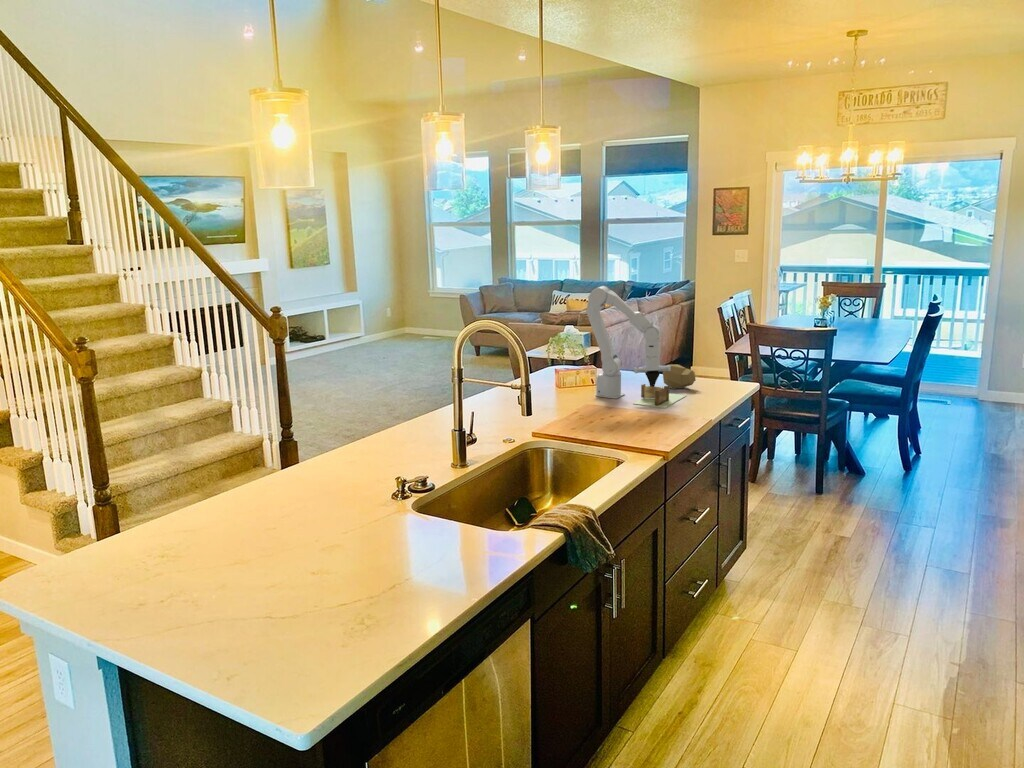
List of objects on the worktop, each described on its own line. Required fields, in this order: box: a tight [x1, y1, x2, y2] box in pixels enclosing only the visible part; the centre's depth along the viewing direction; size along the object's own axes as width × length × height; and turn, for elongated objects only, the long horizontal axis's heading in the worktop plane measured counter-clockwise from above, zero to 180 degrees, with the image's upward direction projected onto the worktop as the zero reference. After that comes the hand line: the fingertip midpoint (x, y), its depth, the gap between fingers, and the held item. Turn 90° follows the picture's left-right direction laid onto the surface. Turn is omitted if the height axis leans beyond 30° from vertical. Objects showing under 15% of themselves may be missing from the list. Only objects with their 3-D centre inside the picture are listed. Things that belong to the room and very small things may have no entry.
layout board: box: [633, 392, 687, 409], centre depth 300 cm, size 13×22×1 cm, turn 147°
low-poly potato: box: [662, 364, 697, 390], centre depth 319 cm, size 15×11×12 cm
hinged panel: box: [640, 383, 664, 399], centre depth 300 cm, size 8×2×5 cm, turn 68°
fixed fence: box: [655, 385, 670, 406], centre depth 295 cm, size 2×11×6 cm, turn 147°
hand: (651, 389), depth 302 cm, fingers closed
